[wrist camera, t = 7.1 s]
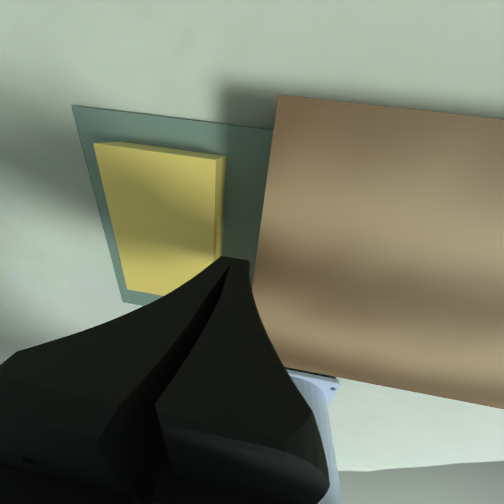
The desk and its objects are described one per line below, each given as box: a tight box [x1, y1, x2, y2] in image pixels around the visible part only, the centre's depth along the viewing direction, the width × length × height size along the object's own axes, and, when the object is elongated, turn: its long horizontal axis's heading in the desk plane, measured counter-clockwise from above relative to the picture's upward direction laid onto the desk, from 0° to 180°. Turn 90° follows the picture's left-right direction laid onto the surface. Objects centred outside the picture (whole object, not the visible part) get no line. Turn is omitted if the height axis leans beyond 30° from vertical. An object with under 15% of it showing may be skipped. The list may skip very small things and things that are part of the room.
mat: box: [72, 106, 273, 306], centre depth 15 cm, size 14×11×1 cm
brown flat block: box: [252, 95, 504, 409], centre depth 12 cm, size 14×20×4 cm
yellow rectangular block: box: [93, 142, 226, 296], centre depth 13 cm, size 9×6×2 cm, turn 174°
